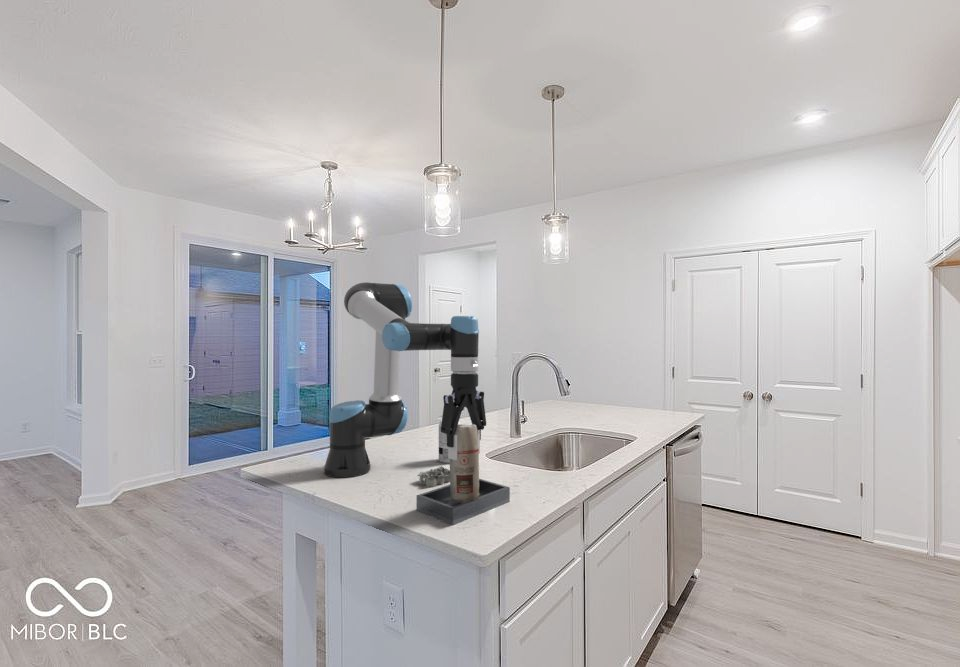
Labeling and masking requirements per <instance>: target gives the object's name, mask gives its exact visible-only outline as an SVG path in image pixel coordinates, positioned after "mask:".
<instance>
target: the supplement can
mask: <svg viewBox="0 0 960 667" xmlns="http://www.w3.org/2000/svg"><path fill="white" fill-rule="evenodd" d="M441 424H442V419H440V421H439V423H438V460H439V461H440V462H441V463H443V464H450V459H449V458H448V447H447V435H446V434H444V433H441ZM458 425H462V424H461V422H460V420H459V422H458ZM445 429H446V428H445Z"/></svg>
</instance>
